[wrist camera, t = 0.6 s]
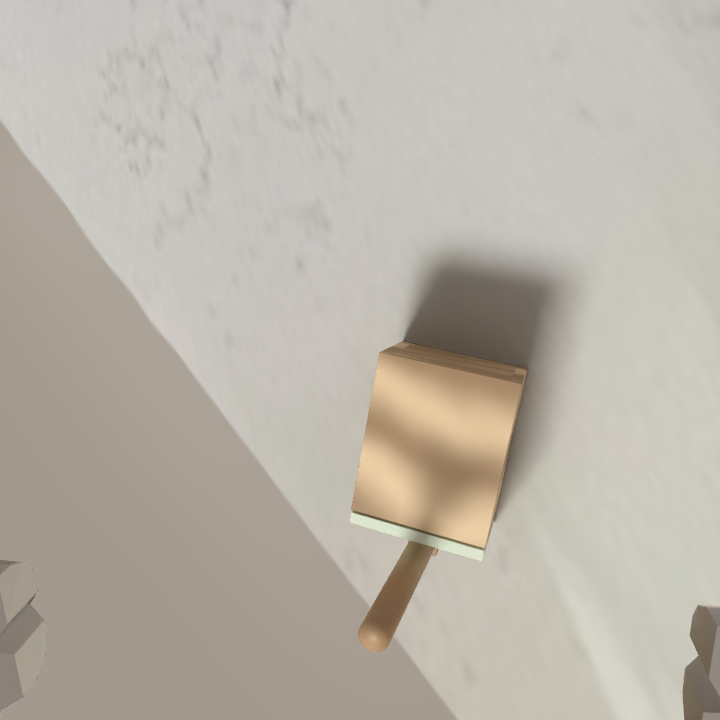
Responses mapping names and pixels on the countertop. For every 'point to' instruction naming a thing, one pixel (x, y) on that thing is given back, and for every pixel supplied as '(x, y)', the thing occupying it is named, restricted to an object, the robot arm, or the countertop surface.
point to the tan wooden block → (438, 440)
